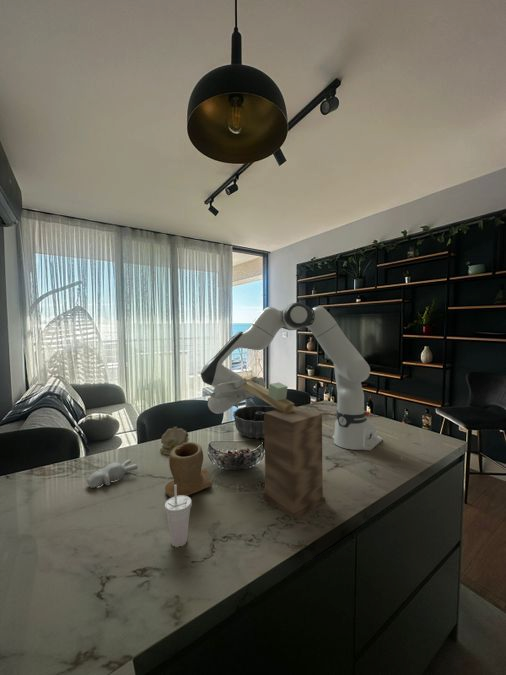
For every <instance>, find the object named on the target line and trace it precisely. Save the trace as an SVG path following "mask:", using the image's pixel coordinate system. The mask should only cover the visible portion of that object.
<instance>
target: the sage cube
mask: <svg viewBox="0 0 506 675" xmlns="http://www.w3.org/2000/svg"><path fill="white" fill-rule="evenodd" d="M268 385H269V387H268V390H269V393H268V396H269V397H271V398H273V399H274V400H276V401H278V400H282V399H287V395H288V394H287V393H288V386H287V385H286V384H283V383H281V382H273V383H269V384H268Z"/></svg>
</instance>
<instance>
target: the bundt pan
mask: <svg viewBox="0 0 506 675" xmlns="http://www.w3.org/2000/svg"><path fill="white" fill-rule="evenodd" d="M273 410H277V408H275V407H273V406H272V405H250V406H244V407H240V408H237V409H235V410H234V411H233V413H232V415H233V419H234V424H235V428H236V431H237V432H238V433H239V434H241V436H244V437H247V438H250V439H252V438H255V439H256V440H257V439H265V436H264V413H265V412H269V411H273Z"/></svg>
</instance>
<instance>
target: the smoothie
mask: <svg viewBox="0 0 506 675" xmlns="http://www.w3.org/2000/svg"><path fill="white" fill-rule="evenodd" d="M174 494H175V497H170V498H168V499H167V500H166V501H165V503H164V511H165V512H166V517H167V518H166V520H167V524H168V531H169V535H170V542H171V545H172V547H174V546H175V548H180V547H179V546H181V547H184V545H186V543H188V536H189V535H188V534H189V523H190V515H191V514H190V513H191V508H192V505H193V504H192V498H191V497H189V495H188V496H184V495H179V496H177V485H174Z"/></svg>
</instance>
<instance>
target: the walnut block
mask: <svg viewBox="0 0 506 675" xmlns="http://www.w3.org/2000/svg"><path fill="white" fill-rule="evenodd" d="M264 436H265V438H264V479H265V480H264V483H265V488H264V489H265V490H264V491H265V492H264V493H263V494H262V498H263V499H264V500H266V501H267V502H269V503H271V505H273V506H275V507H276V508H278V509H279V510H280V511H281V512H283V513H284V514H285V515H287V516H288V517H289V518H291V519H293V520H295V519H297V518H299V517H300V516H302V515H304V514H306V513H308V512H309V511H310V510H312V509H314V508H317V507H318V506H320V505H321V504H323V503H324V502H326V497H325V496H324V494H323V492H324V491H323V490H324V488H323V481H324V480H323V414H322V413H320V412H316V411H313V410H308V409H305V408H302V407H299V406H295V405H294V410H293V411H292V412H289V413H283V412H282V411H280V410H278V409H277V410H273V411H269V412H265V413H264Z"/></svg>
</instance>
